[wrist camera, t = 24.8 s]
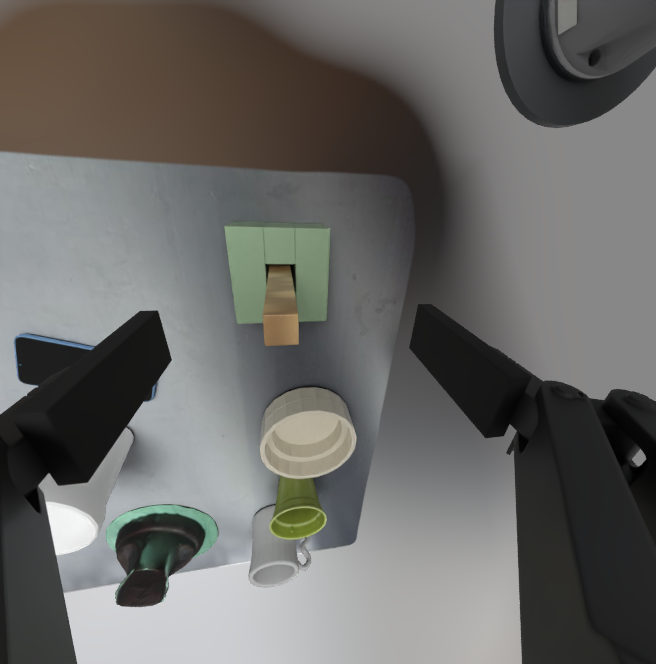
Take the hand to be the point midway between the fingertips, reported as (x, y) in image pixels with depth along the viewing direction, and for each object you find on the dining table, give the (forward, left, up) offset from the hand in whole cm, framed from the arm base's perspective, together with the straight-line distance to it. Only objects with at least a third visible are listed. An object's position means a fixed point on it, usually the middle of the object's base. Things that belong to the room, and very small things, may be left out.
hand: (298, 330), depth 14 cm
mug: (+33, +44, -21) cm, 59 cm away
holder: (+1, +1, -21) cm, 21 cm away
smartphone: (+29, -2, -21) cm, 36 cm away
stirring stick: (+1, +1, -21) cm, 21 cm away
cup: (+37, +7, -21) cm, 43 cm away
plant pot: (+23, +35, -21) cm, 47 cm away
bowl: (+13, +24, -21) cm, 34 cm away
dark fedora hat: (+52, +30, -21) cm, 64 cm away
